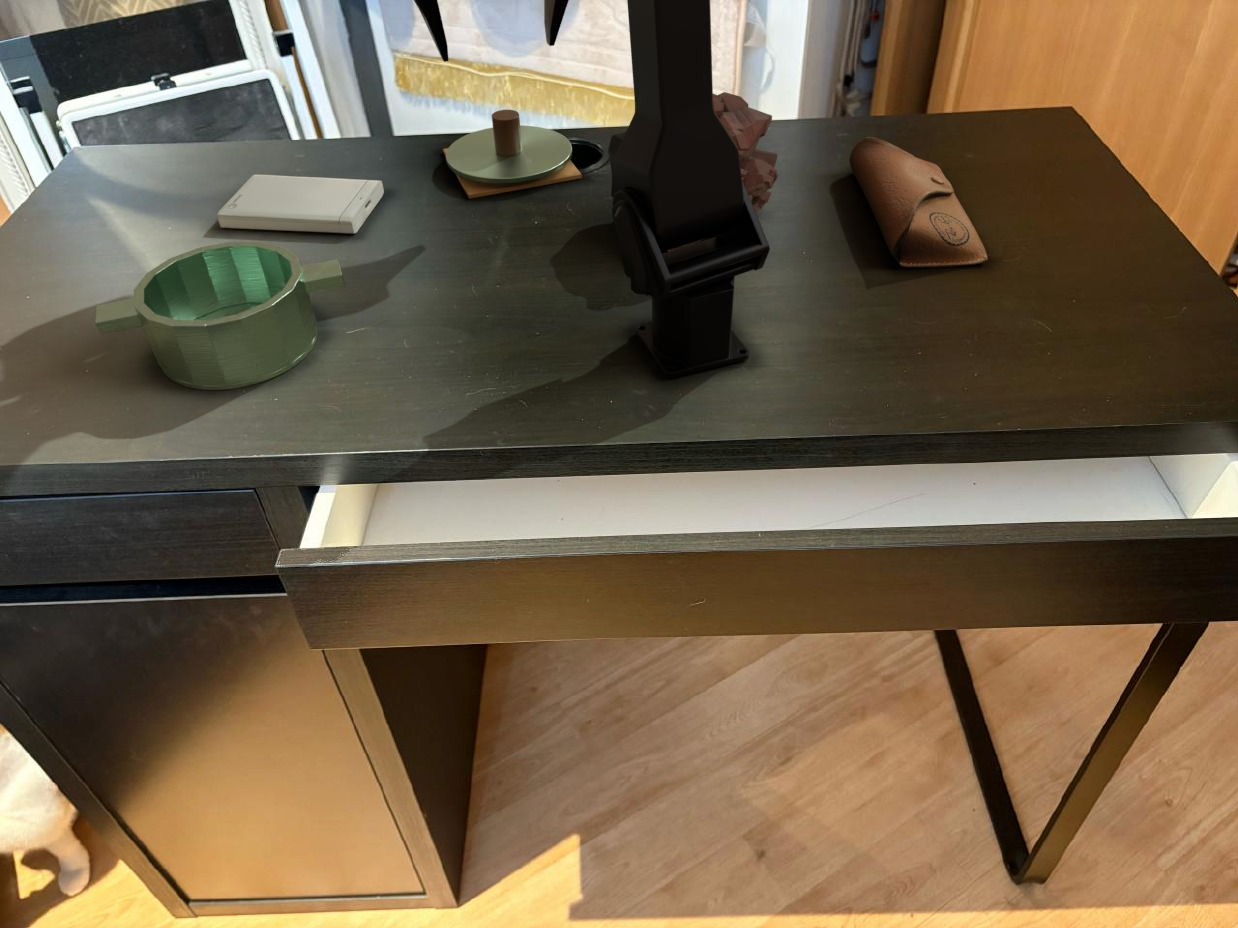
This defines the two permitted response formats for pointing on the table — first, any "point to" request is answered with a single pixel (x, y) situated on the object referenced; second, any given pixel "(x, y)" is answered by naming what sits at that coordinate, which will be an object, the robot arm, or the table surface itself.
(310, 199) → the hard drive
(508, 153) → the tin lid
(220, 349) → the green cooking pot
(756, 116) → the mineral specimen
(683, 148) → the robot arm
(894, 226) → the sunglasses case
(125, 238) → the table surface
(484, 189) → the coaster pad
